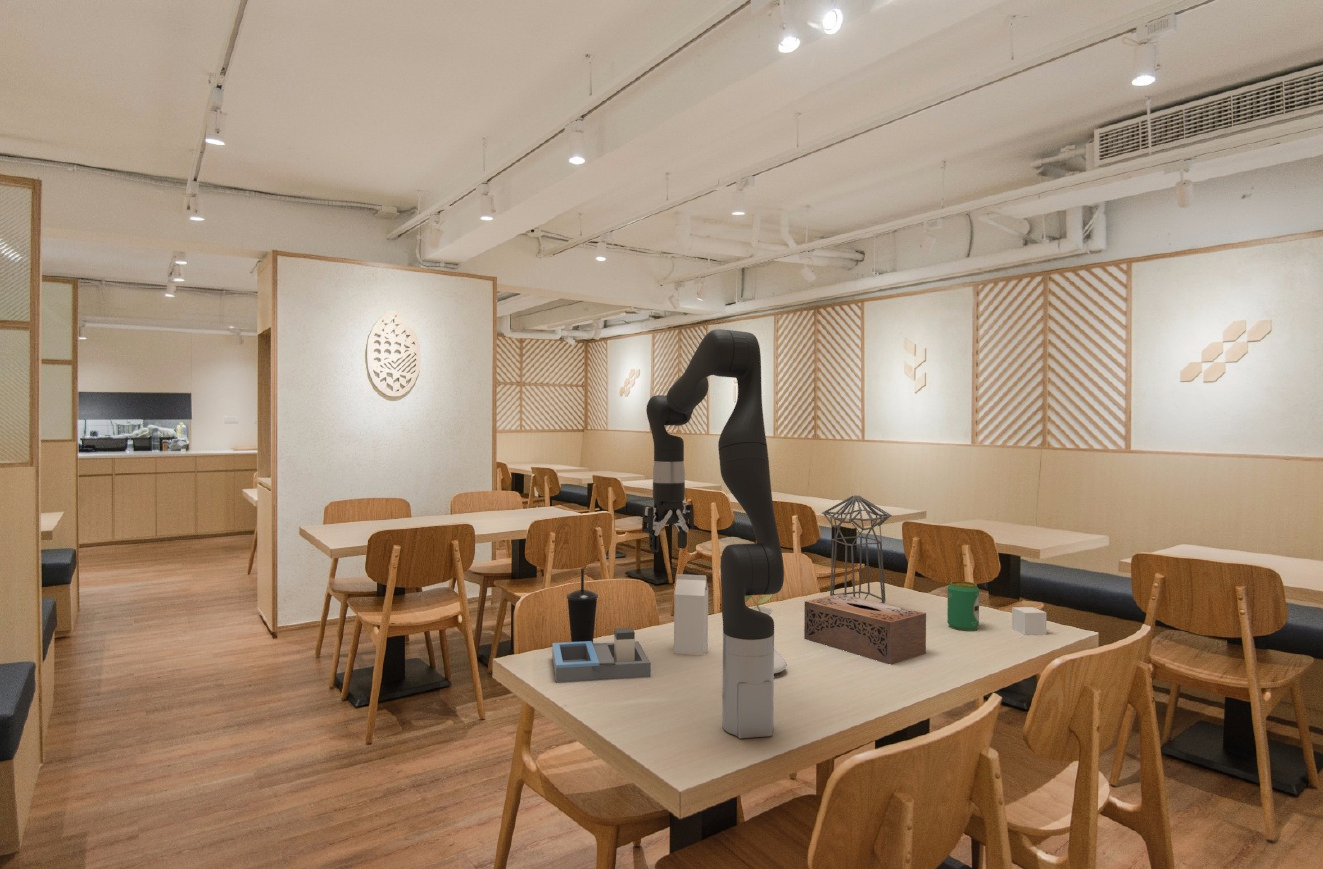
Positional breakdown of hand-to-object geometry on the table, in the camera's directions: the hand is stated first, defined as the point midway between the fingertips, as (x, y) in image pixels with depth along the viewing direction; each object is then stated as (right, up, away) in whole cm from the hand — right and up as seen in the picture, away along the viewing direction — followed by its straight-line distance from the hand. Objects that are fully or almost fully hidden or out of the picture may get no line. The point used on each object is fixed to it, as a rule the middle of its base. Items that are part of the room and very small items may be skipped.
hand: (668, 549), depth 172 cm
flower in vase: (+20, -26, -7) cm, 34 cm away
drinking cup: (-21, -26, +6) cm, 34 cm away
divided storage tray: (-15, -26, -9) cm, 31 cm away
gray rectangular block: (-10, -25, -8) cm, 28 cm away
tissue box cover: (+49, -26, +12) cm, 57 cm away
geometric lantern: (+55, -26, +42) cm, 74 cm away
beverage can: (+81, -26, +29) cm, 90 cm away
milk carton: (+5, -26, +4) cm, 27 cm away
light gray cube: (+97, -26, +25) cm, 104 cm away
